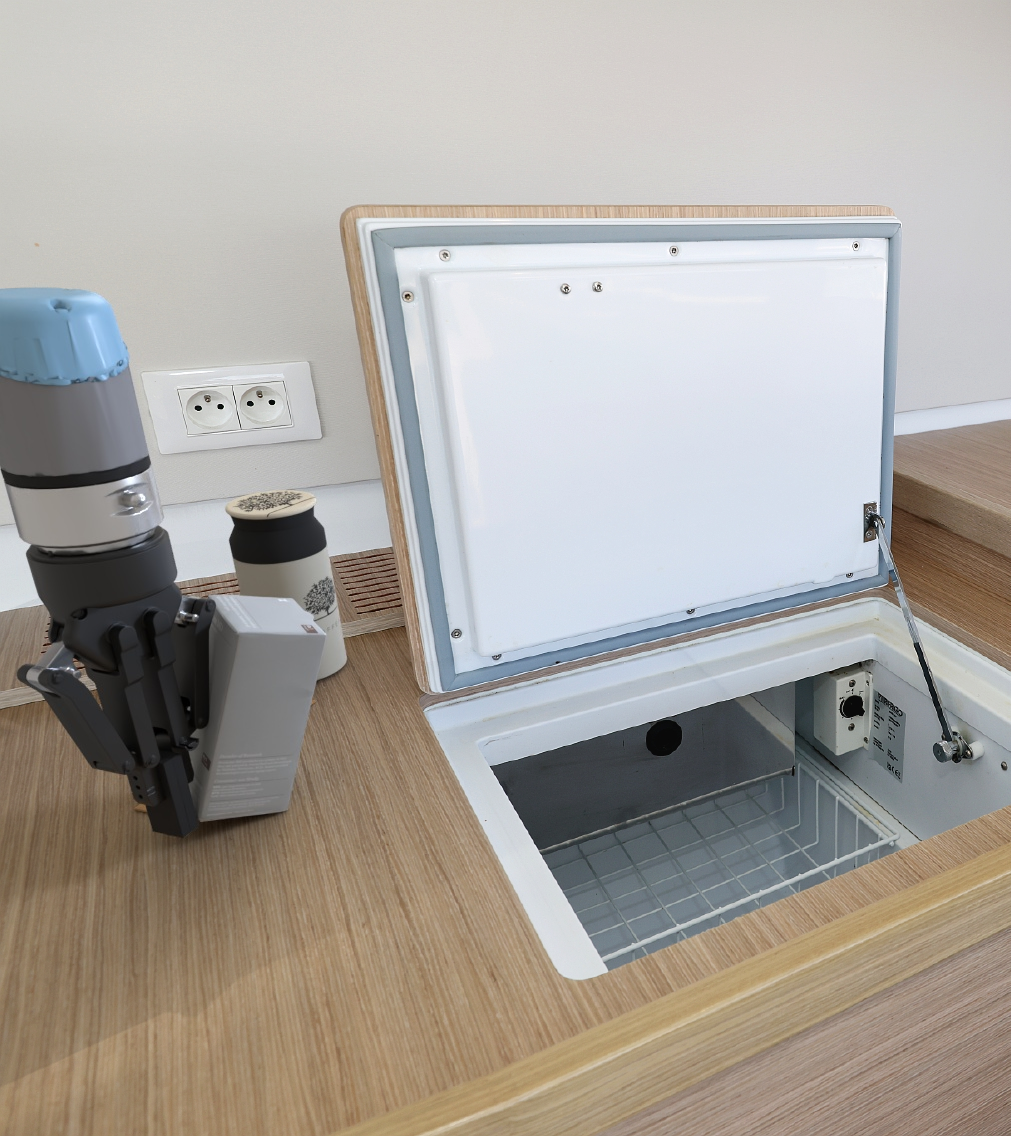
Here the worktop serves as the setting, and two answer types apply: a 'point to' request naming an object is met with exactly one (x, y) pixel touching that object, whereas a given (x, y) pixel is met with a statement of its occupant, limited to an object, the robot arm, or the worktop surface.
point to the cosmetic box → (254, 705)
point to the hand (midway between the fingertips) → (176, 828)
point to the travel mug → (287, 560)
